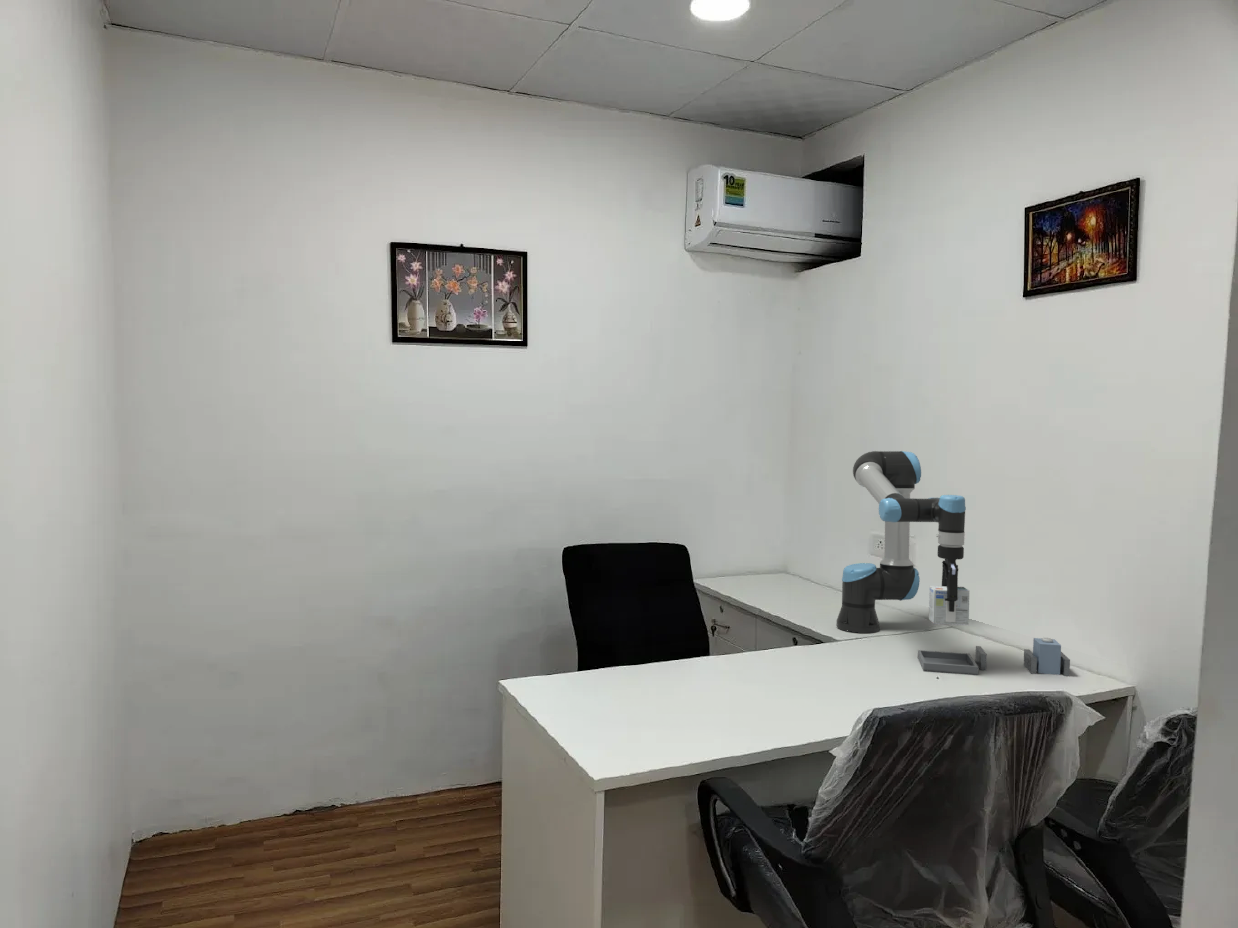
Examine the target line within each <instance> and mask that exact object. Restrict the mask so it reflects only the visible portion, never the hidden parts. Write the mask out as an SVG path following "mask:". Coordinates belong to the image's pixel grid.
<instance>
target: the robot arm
mask: <svg viewBox="0 0 1238 928" xmlns="http://www.w3.org/2000/svg"><path fill="white" fill-rule="evenodd" d="M921 467H922V466H921V463H920V460H919V459H918V456H917V455H916V454H915V453H914V452H911V451H903V450H901V451H899V450H895V451H894V450H893V451H891V450H890V451H889V450H888V451H885V450H884V451H881V450H880V451H878V450H877V451H876V450H874V451H873V450H872V451H868V452H866V453H864V454H862V455H861V456H859V457H858V458H857V459H856V460H855V461H854V463H853V467H852V475H853V478H854V480H855V481H856V482H857V483H858V485H860V487H864V488H865V489H866V490H867V491H868V492H869V494H870V495H871V496H872V497H873V498H874V500H875V501H876V502H877V504H878V514H879V517H880V520H881V521H883V522H884V553H883V554H884V557H883V559H882V560H881V561H879V567H877V566H876V564H874V563H870V562H869V563H868V562H866V563H865V562H859V563H852V564H849V565H846V566H845V567H844V568H843V570H842V576H841V577H842V578H841V582H842V584H841V585H842V591H841V592H842V593H841V608H840V609H839V613H838V616H837V619H836V626H837V627H838V628H837V627H836V628H837V629H839V628H840V630H841V629H842V630H841V631H844V630H848V631H852V632H851V633H855V632H858V633H857V634H871V633H877V632H879V631H880V621H879V617H878V615H877V610H876V601H905V600H906V601H907V600H908V601H909V600H912V599H914V598H915V597H916V595H917V593H918V591H919V587H920V580H921V579H920V576H919V575H920V572H919V571H918V569H917V568H916V567H914V562H912V560H911V559H910V533H911V531H910V528H911V523H938V529H937V531H938V533H937V534H936V535H935V536H936V538H937V543H938V544H939V545H937V557H938V558H939V559H942V562H941V564H942V573H941V586H947V599H946V598H945V601H946V622H955V619H956V600H958V598H957V596H958V587H959V584H958V583H959V580H958V579H959V578H958V577H959V565H958V564H957V560H962V559H964V555H965V554H964V553H965V552H964V551H965V549H964V546H965V535H966V534H965V524H966V522H965V521H966V499H965V497H964V496H963V495H957V494H942V495H941V496H940V497H928V498H911V493H912V492H913V491H914V490H915V486H916V485H917V484H919V482H920V481H921V478H922V468H921ZM943 559H944V560H943ZM848 631H847V632H848Z"/></svg>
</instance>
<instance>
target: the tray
mask: <svg viewBox="0 0 1238 928" xmlns="http://www.w3.org/2000/svg"><path fill="white" fill-rule="evenodd" d="M916 657H917V660H918V662H919V665H920V666H921V669H922V671H923V672H928V673H929V672H930V673H944V674H945V673H946V674H955V675H957V674H958V675H959V674H960V675H971V676H979V666H978V665H977V663H976V662H975V659H974V658H973V657H972V655H971V653H966V652H954V651H953V652H952V651H951V652H950V651H941V650H940V651H938V650H926V649H925V650H921V649H917V656H916Z"/></svg>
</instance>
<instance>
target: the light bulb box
mask: <svg viewBox="0 0 1238 928" xmlns="http://www.w3.org/2000/svg"><path fill="white" fill-rule="evenodd" d="M928 595H929V600H928V601H929V602H928V604H929V607H928V620H929V621H930V622H932V623H933V624H934V625H938V624H939V625H960V626H961V625H965V626H969V620H970V590H969V589H968V588H966V587H965V586H958V596H957V598H958V600H956V619H955V622H946V601H945V598H946V599H947V586H942V585H941V586H939V585H938V586H937V585H929V594H928Z"/></svg>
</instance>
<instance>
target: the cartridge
mask: <svg viewBox="0 0 1238 928" xmlns="http://www.w3.org/2000/svg"><path fill="white" fill-rule="evenodd" d="M1032 646H1033V647H1032V653H1033V654H1034V655H1035V656H1036V657H1037V667H1036V673H1038V674H1045V675H1061V672H1060V661H1061V652H1062V645H1061V644H1060V643H1059V642H1058V641H1057V639H1056V638H1055V639H1054V638H1051V637H1050V638H1049V637H1040V638H1039V637H1033V645H1032Z"/></svg>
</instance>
